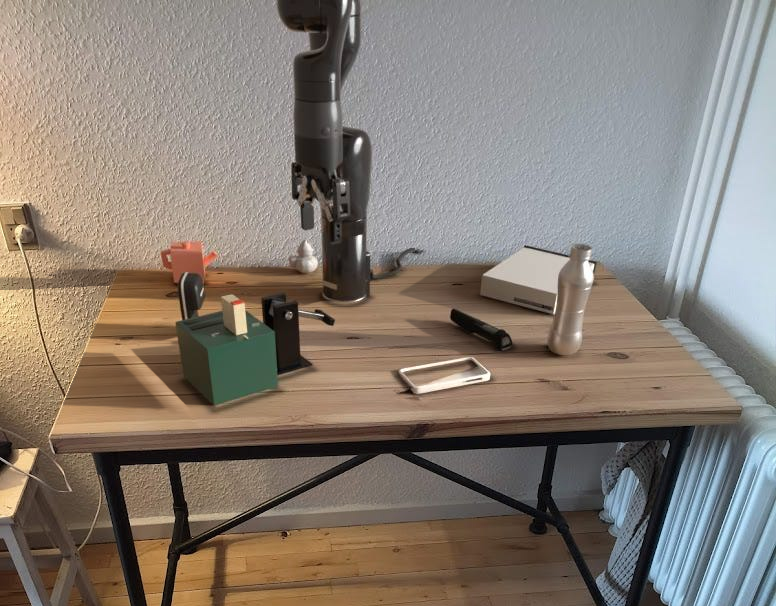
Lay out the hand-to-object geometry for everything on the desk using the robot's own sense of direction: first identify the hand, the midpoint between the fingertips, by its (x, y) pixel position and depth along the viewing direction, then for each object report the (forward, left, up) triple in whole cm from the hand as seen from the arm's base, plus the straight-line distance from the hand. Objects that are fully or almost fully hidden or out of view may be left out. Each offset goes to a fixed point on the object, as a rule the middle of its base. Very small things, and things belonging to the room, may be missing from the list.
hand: (320, 236), depth 129 cm
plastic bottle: (-39, +23, -22) cm, 51 cm away
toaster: (+20, +1, -22) cm, 30 cm away
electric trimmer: (-30, +9, -22) cm, 39 cm away
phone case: (-13, +19, -22) cm, 32 cm away
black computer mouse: (+16, -21, -22) cm, 34 cm away
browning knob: (+19, +3, -11) cm, 22 cm away
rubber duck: (-18, -38, -22) cm, 48 cm away
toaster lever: (+5, 0, -14) cm, 15 cm away
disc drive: (-57, -2, -22) cm, 62 cm away
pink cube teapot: (+5, -47, -22) cm, 52 cm away
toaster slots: (+20, -2, -11) cm, 23 cm away
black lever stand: (+9, 0, -22) cm, 24 cm away
